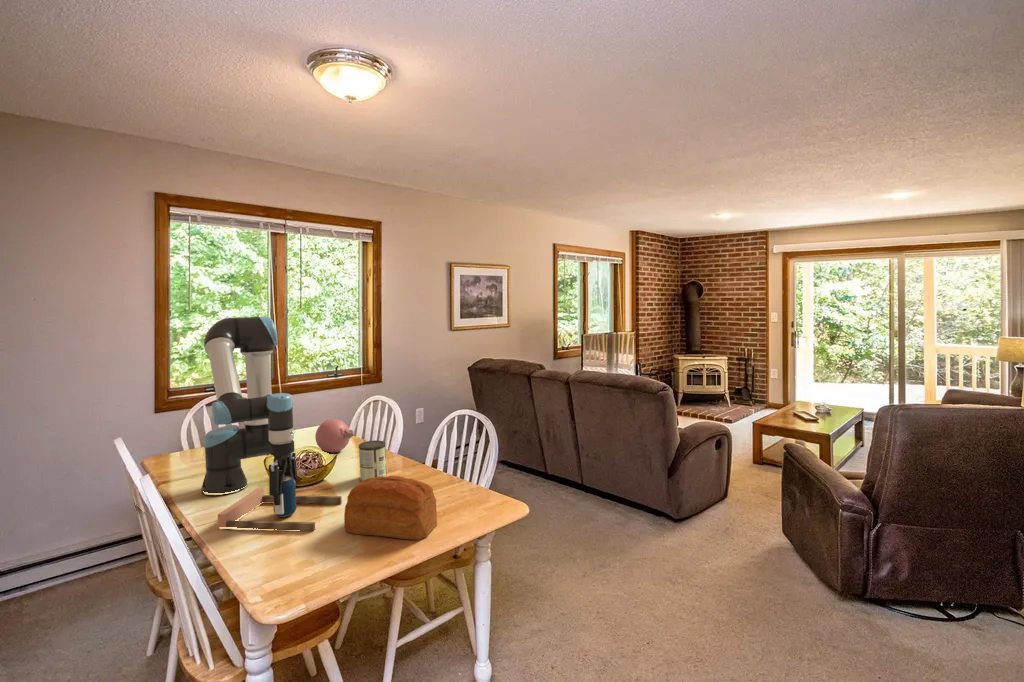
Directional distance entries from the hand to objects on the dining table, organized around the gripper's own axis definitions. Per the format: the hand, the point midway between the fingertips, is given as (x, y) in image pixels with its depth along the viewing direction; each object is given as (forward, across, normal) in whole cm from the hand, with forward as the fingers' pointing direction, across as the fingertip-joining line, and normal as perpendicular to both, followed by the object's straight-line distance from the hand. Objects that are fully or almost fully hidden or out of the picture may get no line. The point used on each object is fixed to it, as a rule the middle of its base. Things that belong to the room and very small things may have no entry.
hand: (285, 508), depth 174 cm
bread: (+2, -8, -38) cm, 39 cm away
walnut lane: (+2, 0, -1) cm, 2 cm away
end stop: (+2, 0, +14) cm, 15 cm away
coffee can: (+3, +36, -18) cm, 40 cm away
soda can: (+2, 0, 0) cm, 2 cm away
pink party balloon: (+3, +70, +10) cm, 71 cm away
